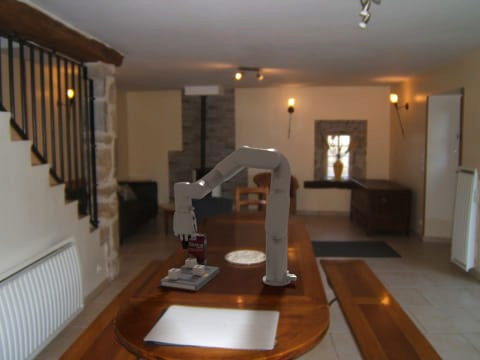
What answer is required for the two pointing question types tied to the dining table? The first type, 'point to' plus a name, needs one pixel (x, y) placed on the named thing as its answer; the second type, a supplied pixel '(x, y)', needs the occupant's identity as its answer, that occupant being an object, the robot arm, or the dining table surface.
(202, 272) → the switch
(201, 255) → the supplement box
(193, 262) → the switch
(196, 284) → the switch unit
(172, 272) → the switch
